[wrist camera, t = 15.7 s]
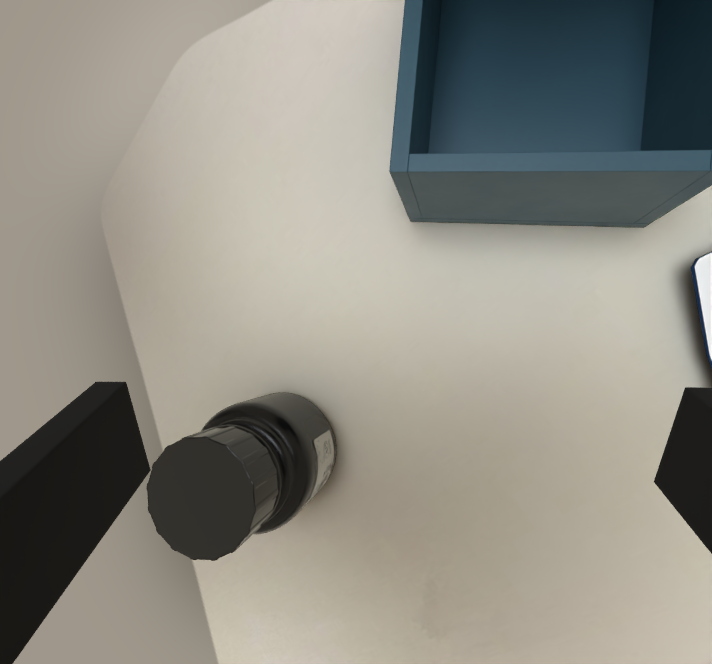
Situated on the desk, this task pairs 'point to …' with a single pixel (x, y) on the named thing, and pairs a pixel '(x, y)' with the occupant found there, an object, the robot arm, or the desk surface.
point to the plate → (704, 297)
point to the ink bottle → (240, 474)
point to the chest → (552, 110)
